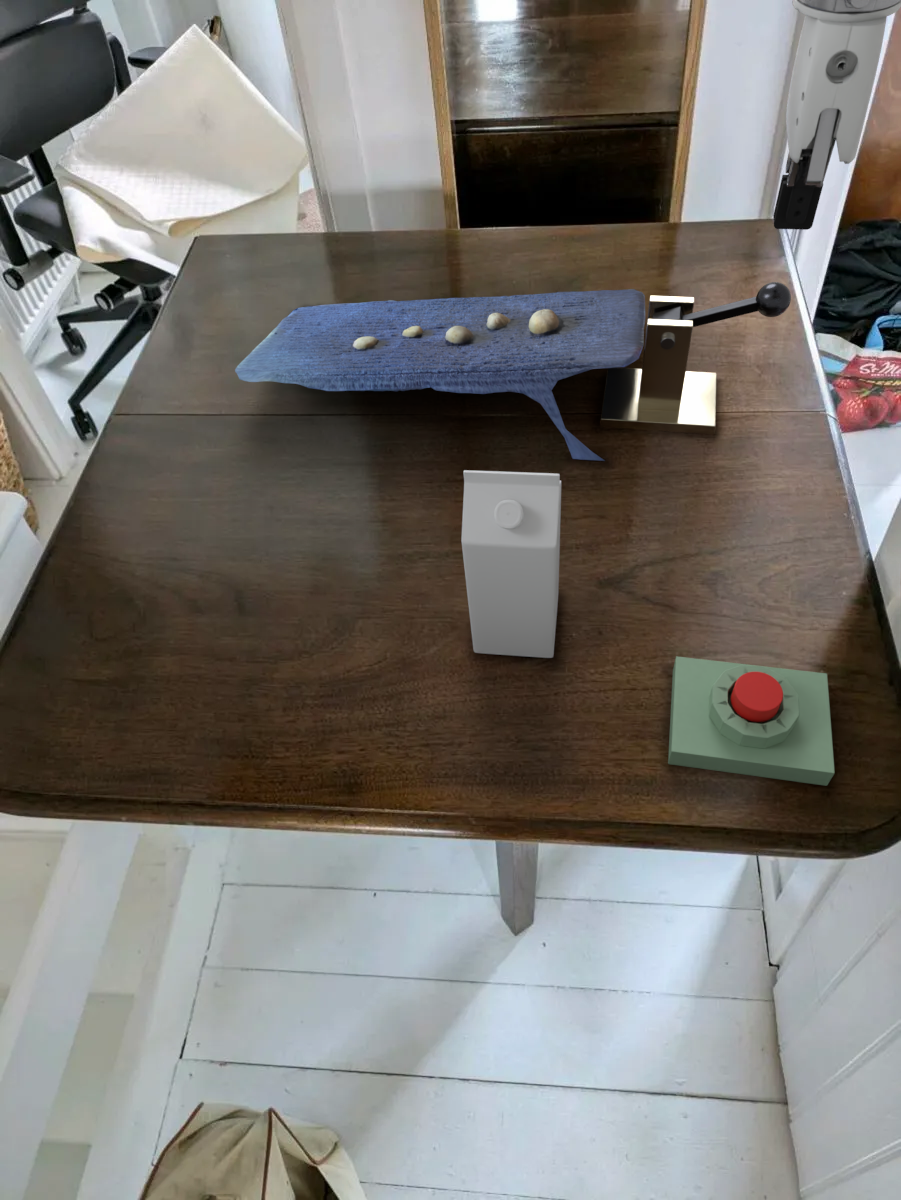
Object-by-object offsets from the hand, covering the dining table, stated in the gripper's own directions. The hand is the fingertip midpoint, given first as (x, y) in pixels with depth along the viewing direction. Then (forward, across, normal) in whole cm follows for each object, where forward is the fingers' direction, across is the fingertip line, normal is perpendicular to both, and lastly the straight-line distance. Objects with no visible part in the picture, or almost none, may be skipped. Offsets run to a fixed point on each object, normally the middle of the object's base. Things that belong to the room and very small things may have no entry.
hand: (791, 224), depth 75 cm
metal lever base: (+22, +1, +9) cm, 23 cm away
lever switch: (+11, +1, +4) cm, 12 cm away
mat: (+22, +4, +34) cm, 40 cm away
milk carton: (+22, -31, +20) cm, 43 cm away
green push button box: (+21, -39, 0) cm, 44 cm away
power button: (+18, -39, +1) cm, 43 cm away
